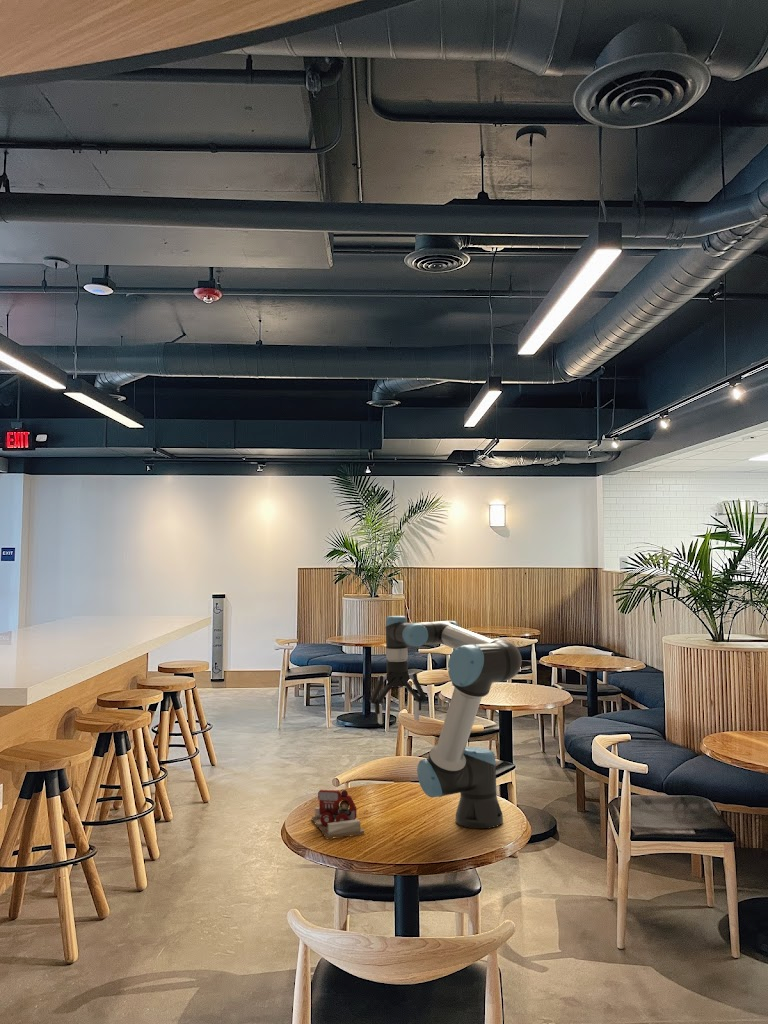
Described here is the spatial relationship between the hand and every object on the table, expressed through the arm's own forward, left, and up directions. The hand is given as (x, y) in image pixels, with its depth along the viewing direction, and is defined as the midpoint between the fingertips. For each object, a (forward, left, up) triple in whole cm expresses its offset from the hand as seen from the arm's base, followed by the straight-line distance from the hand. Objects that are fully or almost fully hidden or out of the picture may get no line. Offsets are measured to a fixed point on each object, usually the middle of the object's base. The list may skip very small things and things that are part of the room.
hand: (398, 721), depth 267 cm
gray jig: (-12, +26, -29) cm, 41 cm away
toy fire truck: (-12, +26, -28) cm, 40 cm away
